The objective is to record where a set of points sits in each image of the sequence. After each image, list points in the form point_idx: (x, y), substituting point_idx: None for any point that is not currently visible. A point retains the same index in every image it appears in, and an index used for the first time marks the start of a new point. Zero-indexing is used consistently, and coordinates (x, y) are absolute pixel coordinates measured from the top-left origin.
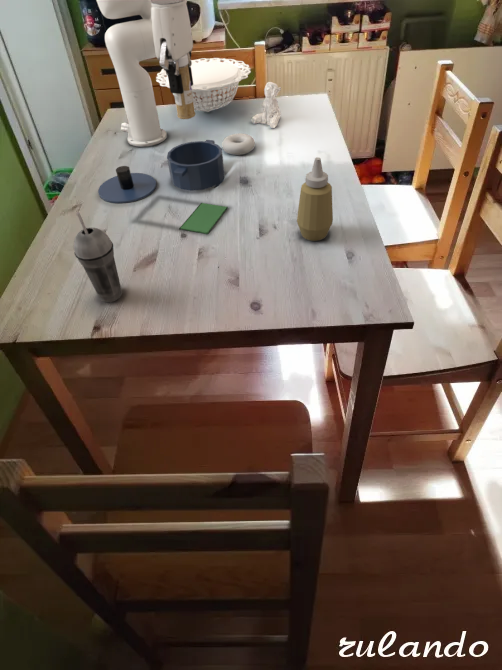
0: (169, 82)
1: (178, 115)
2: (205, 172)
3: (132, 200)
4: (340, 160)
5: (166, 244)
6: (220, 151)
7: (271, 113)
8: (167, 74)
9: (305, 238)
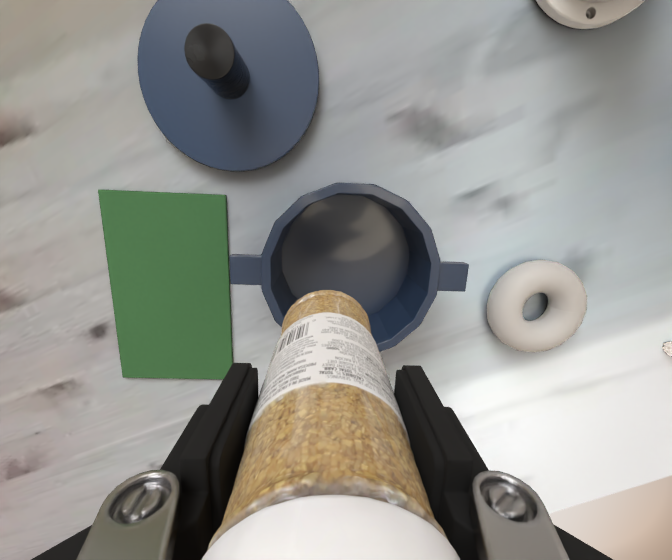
0: (208, 409)
1: (291, 311)
2: None
3: (167, 137)
4: None
5: (53, 310)
6: None
7: None
8: (129, 490)
9: None
